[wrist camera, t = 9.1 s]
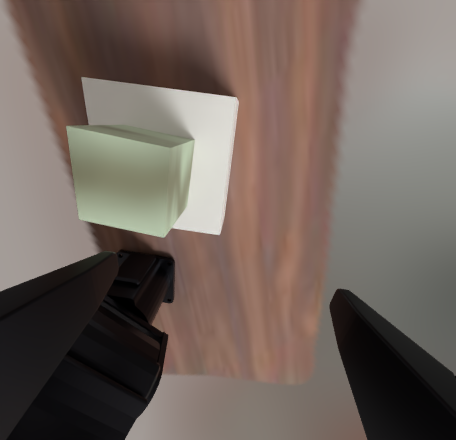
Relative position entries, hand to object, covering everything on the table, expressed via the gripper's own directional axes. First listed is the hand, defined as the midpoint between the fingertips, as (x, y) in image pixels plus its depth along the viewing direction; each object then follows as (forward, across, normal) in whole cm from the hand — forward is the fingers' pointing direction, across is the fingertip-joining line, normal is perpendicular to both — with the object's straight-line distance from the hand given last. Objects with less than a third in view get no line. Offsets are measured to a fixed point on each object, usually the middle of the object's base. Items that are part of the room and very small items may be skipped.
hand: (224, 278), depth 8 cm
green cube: (+8, +6, -2) cm, 11 cm away
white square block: (+12, +6, -2) cm, 14 cm away
